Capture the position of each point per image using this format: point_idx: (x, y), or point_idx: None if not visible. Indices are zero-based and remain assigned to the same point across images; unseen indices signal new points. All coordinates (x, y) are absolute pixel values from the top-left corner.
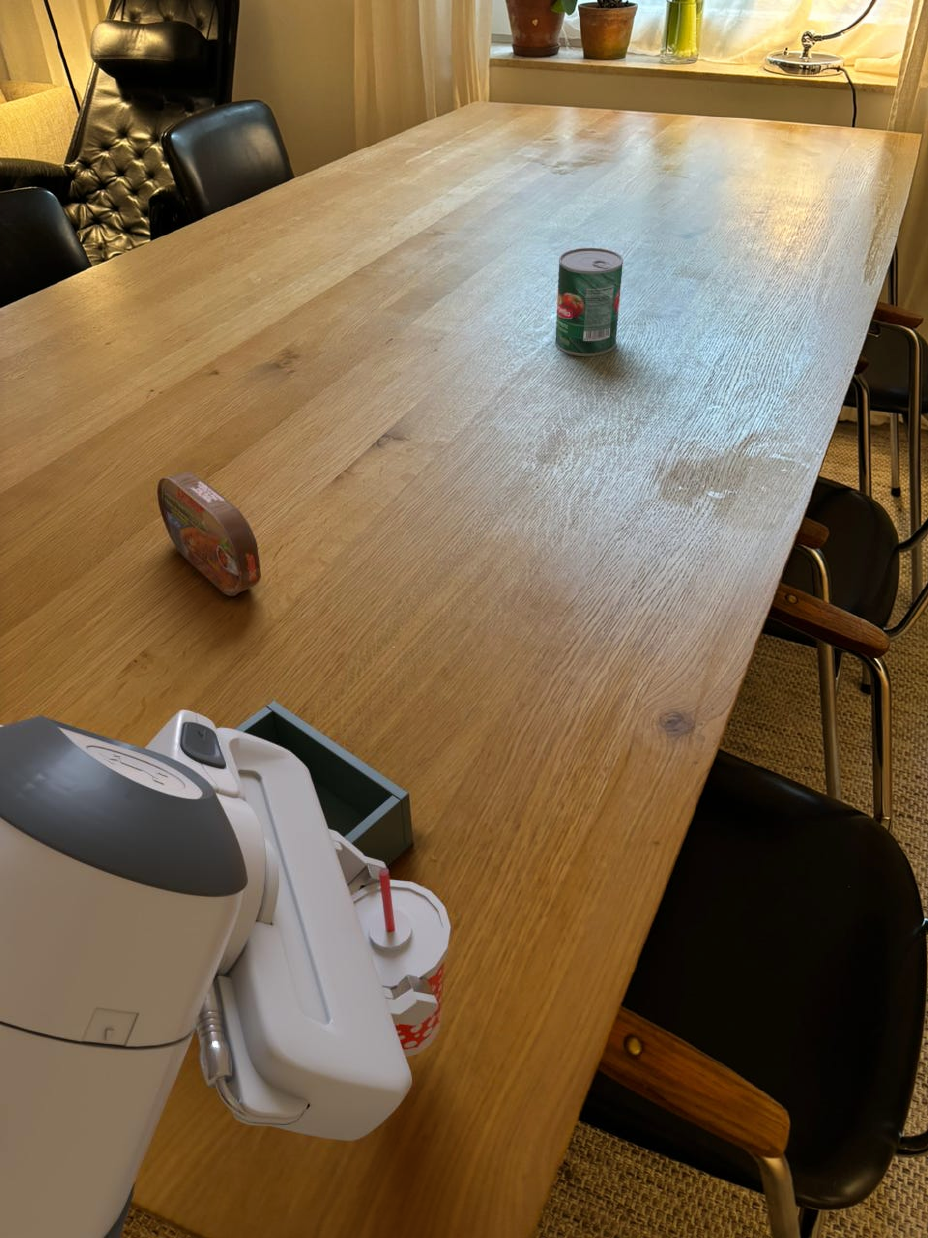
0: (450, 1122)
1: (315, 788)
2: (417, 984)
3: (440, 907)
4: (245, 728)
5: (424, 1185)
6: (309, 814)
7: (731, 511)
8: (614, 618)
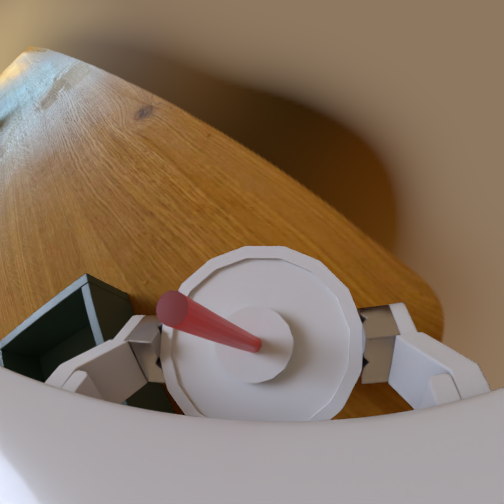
0: None
1: (63, 346)
2: (380, 325)
3: (243, 252)
4: None
5: None
6: (1, 404)
7: (71, 84)
8: (73, 133)
